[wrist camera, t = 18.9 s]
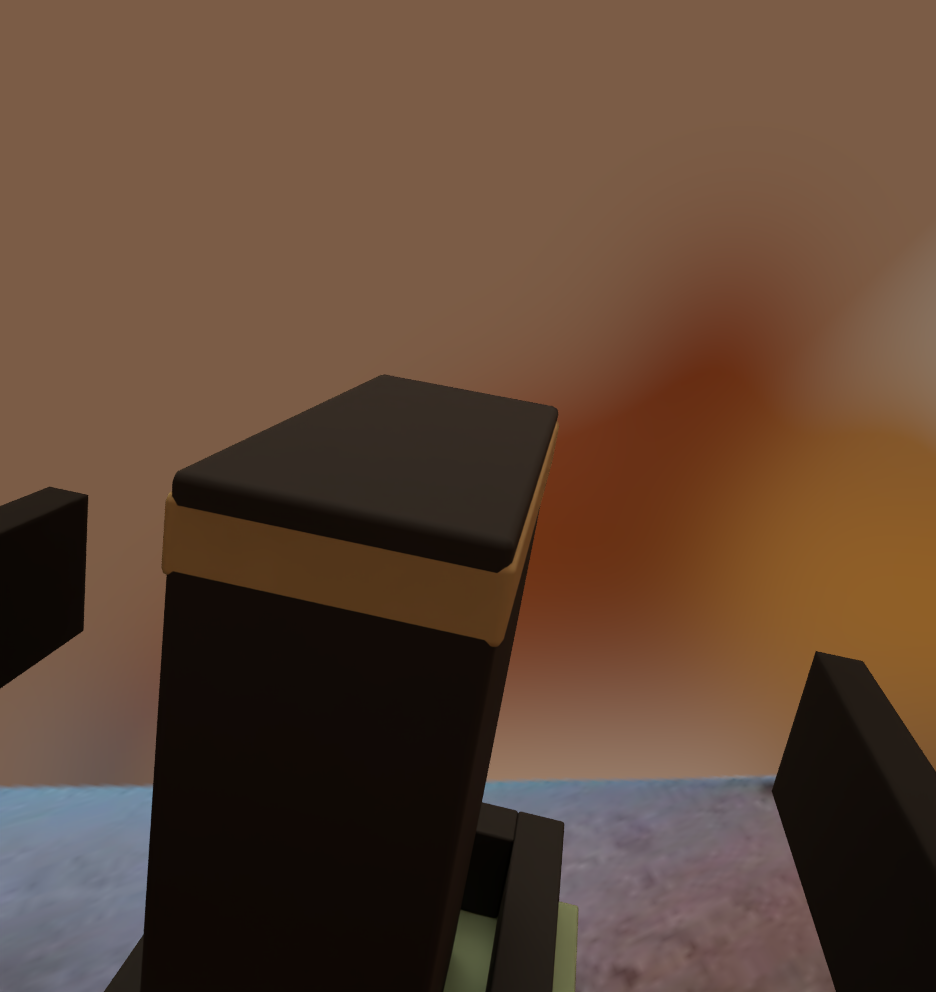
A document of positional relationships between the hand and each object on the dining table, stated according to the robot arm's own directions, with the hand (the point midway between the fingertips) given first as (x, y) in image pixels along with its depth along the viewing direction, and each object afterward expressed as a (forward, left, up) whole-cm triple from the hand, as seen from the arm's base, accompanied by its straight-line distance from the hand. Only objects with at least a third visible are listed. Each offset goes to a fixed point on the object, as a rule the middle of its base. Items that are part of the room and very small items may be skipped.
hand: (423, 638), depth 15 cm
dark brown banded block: (+3, 0, -7) cm, 7 cm away
